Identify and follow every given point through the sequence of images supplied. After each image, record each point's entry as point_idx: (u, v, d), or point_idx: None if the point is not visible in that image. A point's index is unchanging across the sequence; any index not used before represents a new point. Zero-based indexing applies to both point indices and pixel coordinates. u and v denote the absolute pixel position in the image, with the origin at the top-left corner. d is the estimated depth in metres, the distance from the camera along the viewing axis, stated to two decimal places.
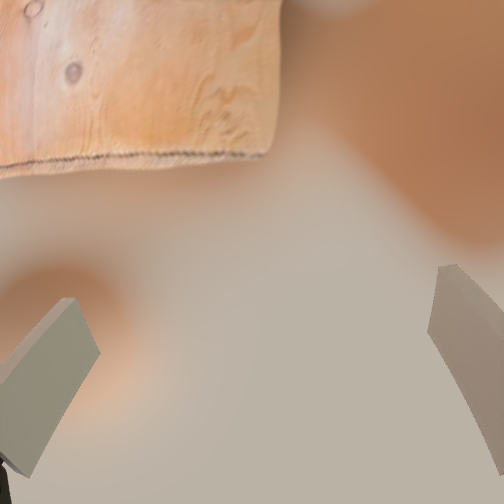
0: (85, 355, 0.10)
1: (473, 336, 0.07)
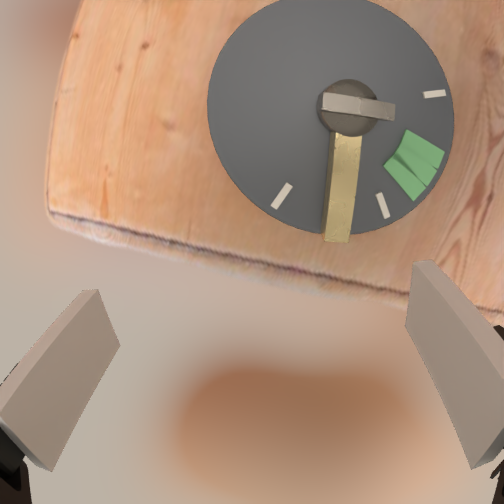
0: (106, 347, 0.11)
1: (444, 329, 0.07)
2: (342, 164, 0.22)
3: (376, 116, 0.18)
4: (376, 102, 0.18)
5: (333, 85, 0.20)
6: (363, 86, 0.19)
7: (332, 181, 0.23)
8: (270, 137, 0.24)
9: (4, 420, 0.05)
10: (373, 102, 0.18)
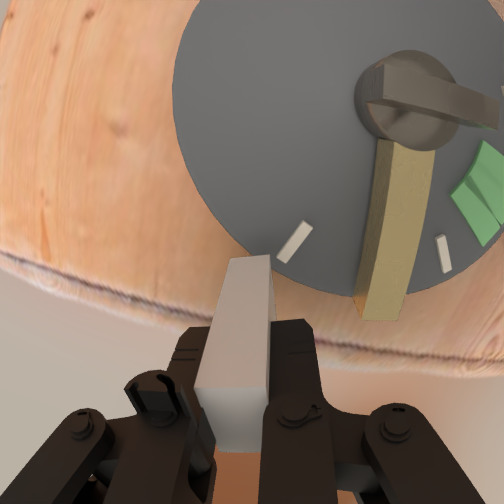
0: None
1: None
2: (402, 199, 0.12)
3: (473, 119, 0.08)
4: (473, 93, 0.08)
5: (390, 58, 0.10)
6: (438, 65, 0.10)
7: (383, 227, 0.13)
8: (277, 146, 0.15)
9: (230, 395, 0.06)
10: (469, 93, 0.08)
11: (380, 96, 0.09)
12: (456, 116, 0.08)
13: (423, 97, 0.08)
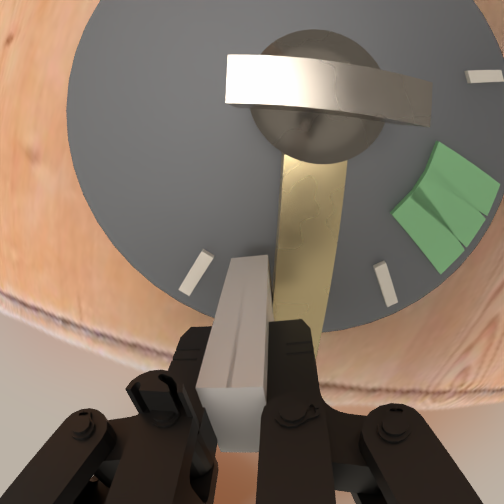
0: None
1: None
2: (301, 228, 0.10)
3: (383, 113, 0.06)
4: (382, 75, 0.06)
5: (275, 45, 0.08)
6: (349, 45, 0.08)
7: (278, 264, 0.11)
8: (167, 166, 0.13)
9: (232, 395, 0.06)
10: (374, 75, 0.06)
11: None
12: (353, 112, 0.07)
13: (291, 91, 0.06)
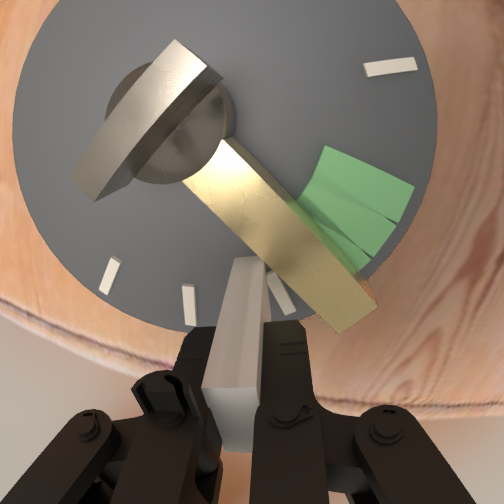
0: None
1: None
2: (246, 215, 0.11)
3: (168, 101, 0.07)
4: (142, 81, 0.07)
5: None
6: (141, 71, 0.09)
7: (259, 254, 0.11)
8: None
9: (238, 395, 0.06)
10: (137, 88, 0.07)
11: None
12: (153, 124, 0.07)
13: (111, 157, 0.08)
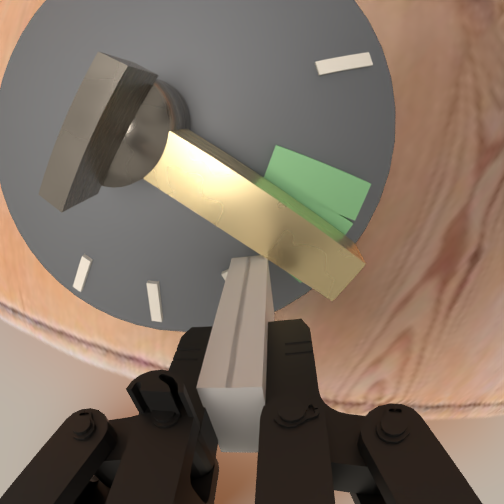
0: None
1: None
2: (207, 196, 0.11)
3: (103, 105, 0.07)
4: (79, 94, 0.07)
5: None
6: None
7: (230, 232, 0.11)
8: None
9: (232, 395, 0.06)
10: (77, 101, 0.07)
11: (64, 209, 0.09)
12: (95, 129, 0.08)
13: (68, 167, 0.08)
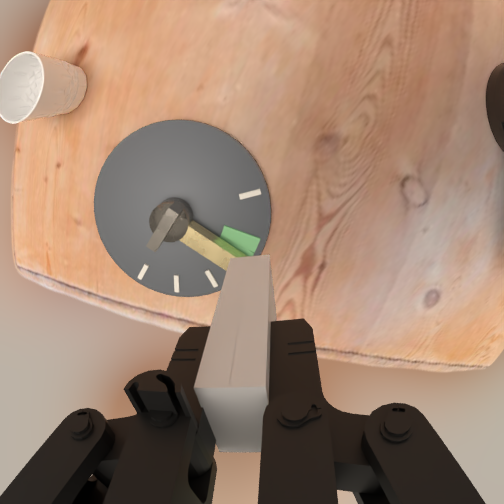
0: None
1: None
2: (200, 247, 0.34)
3: (171, 224, 0.31)
4: (163, 219, 0.30)
5: (150, 226, 0.33)
6: (158, 208, 0.32)
7: (207, 258, 0.35)
8: (132, 235, 0.37)
9: (230, 395, 0.06)
10: (162, 221, 0.30)
11: (155, 251, 0.32)
12: (168, 230, 0.31)
13: (159, 239, 0.31)
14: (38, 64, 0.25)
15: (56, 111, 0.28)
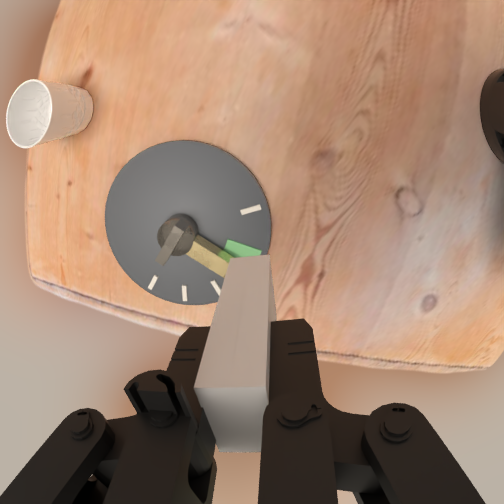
0: None
1: None
2: (205, 260, 0.37)
3: (177, 240, 0.33)
4: (169, 236, 0.33)
5: (158, 241, 0.36)
6: (165, 224, 0.35)
7: (212, 270, 0.37)
8: (141, 248, 0.40)
9: (230, 395, 0.06)
10: (169, 238, 0.33)
11: (163, 265, 0.35)
12: (175, 245, 0.34)
13: (166, 254, 0.34)
14: (45, 89, 0.28)
15: (65, 134, 0.31)
